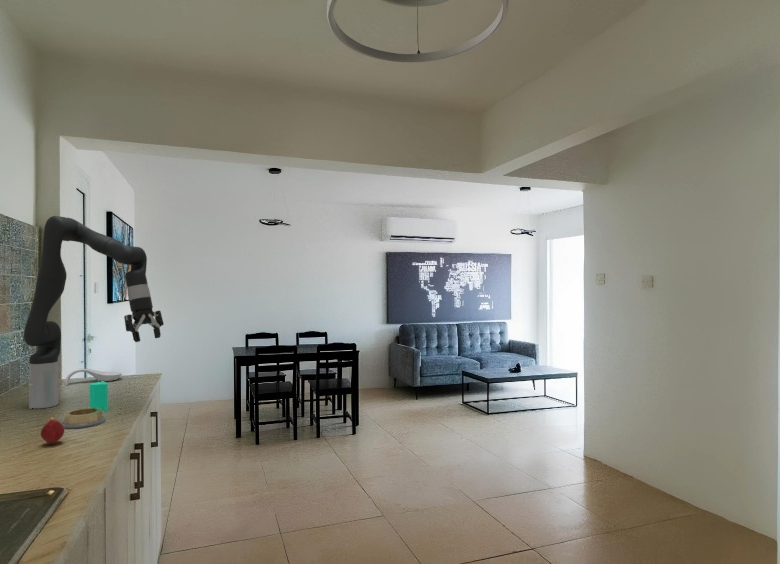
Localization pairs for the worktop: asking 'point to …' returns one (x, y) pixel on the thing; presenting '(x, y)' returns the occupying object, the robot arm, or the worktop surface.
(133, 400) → the worktop surface
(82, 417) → the collar
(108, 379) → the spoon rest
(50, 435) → the onion
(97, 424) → the dish
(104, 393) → the candle
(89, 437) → the worktop surface
